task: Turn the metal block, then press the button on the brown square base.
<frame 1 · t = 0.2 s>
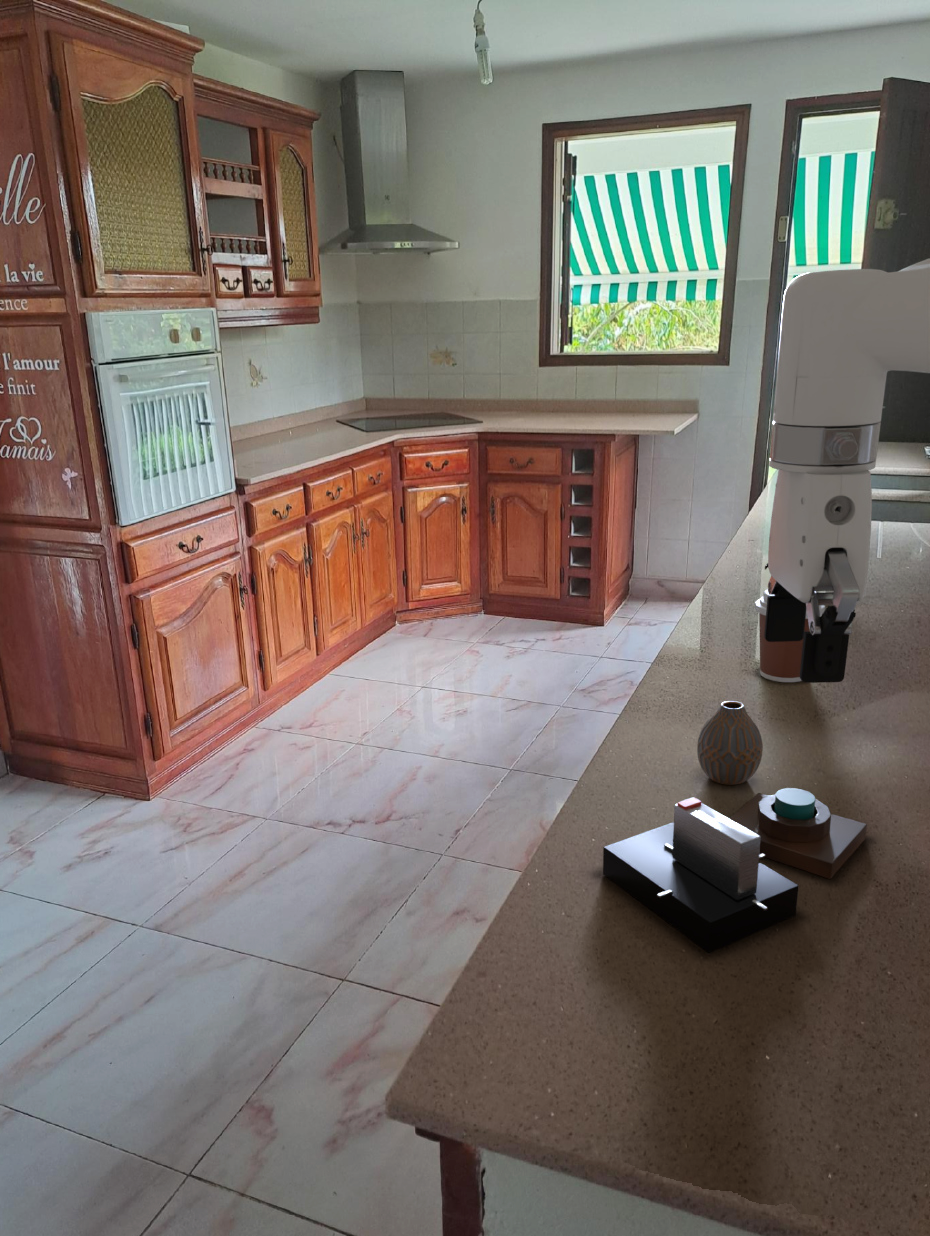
hand: (801, 659, 78), 22 cm above the counter, tool pointing down, fingers open, 9 cm apart
vase: (727, 778, 107), on the counter
button: (794, 804, 93), point 4 cm above the counter, slide at 0.1 cm
brown square base: (791, 840, 94), on the counter
faucet base: (695, 893, 87), on the counter
coffee cup: (783, 675, 136), on the counter
dragon fruit: (797, 587, 176), on the counter
metal block: (714, 846, 83), point 6 cm above the counter, hinge at 0.0°
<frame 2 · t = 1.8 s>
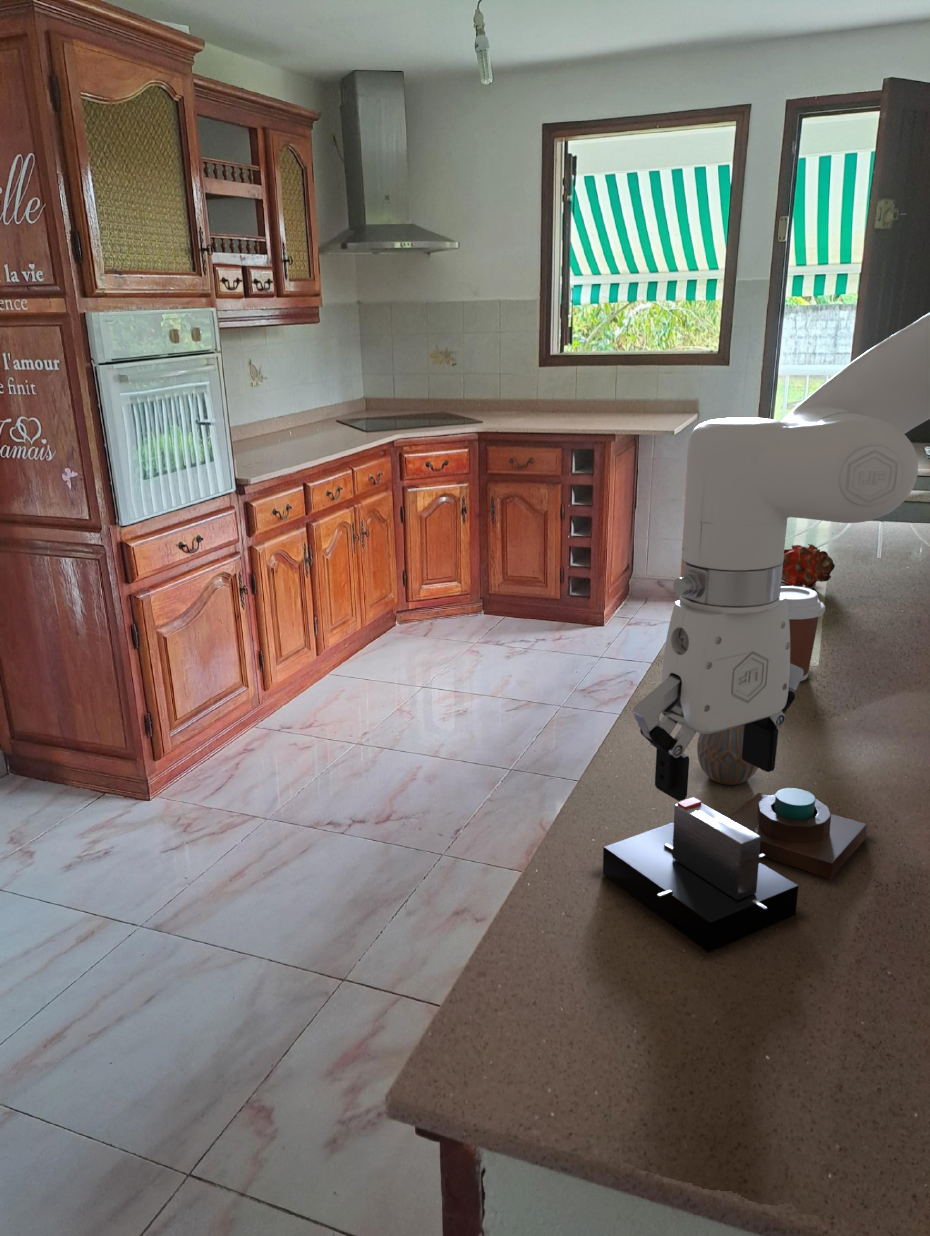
hand: (715, 779, 81), 12 cm above the counter, tool pointing down, fingers open, 9 cm apart
nothing on the counter moved.
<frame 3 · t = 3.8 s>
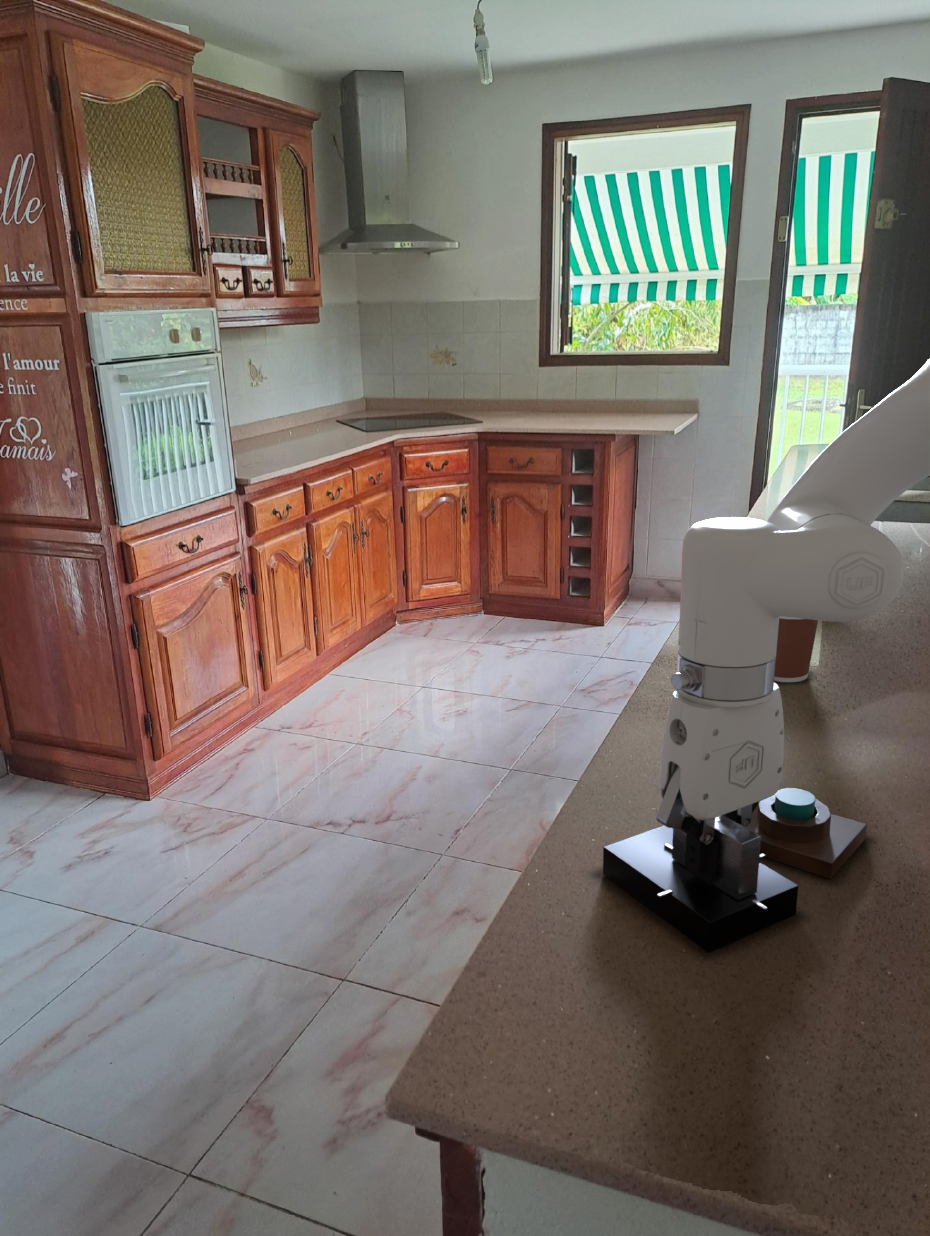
hand: (713, 869, 84), 4 cm above the counter, tool pointing down, fingers closed on metal block, 2 cm apart
metal block: (714, 846, 83), point 6 cm above the counter, hinge at 1.0°, touching gripper
everything else where it was.
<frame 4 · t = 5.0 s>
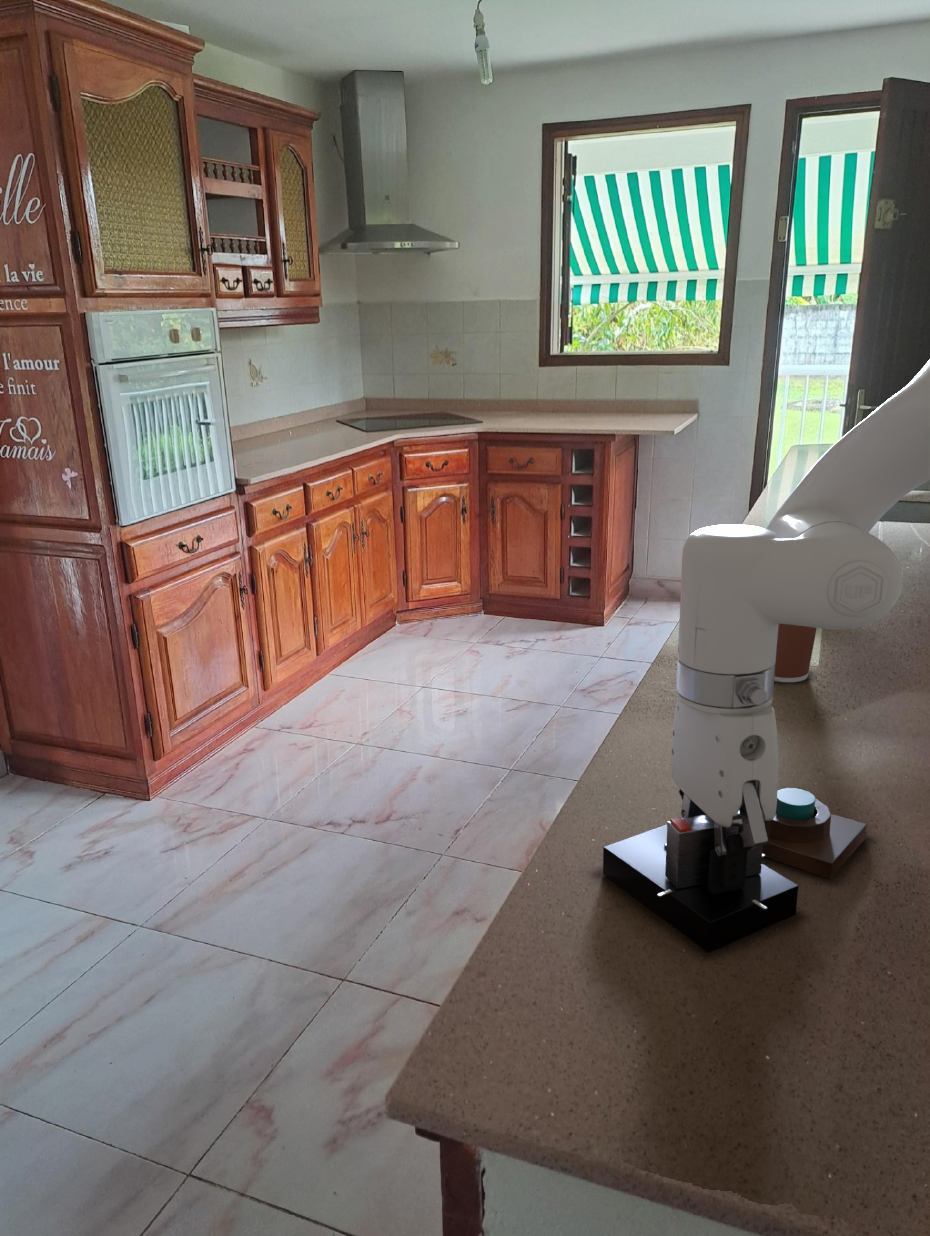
hand: (712, 873, 84), 3 cm above the counter, tool pointing down, fingers open, 4 cm apart
metal block: (714, 846, 83), point 6 cm above the counter, hinge at 75.0°
everything else where it was.
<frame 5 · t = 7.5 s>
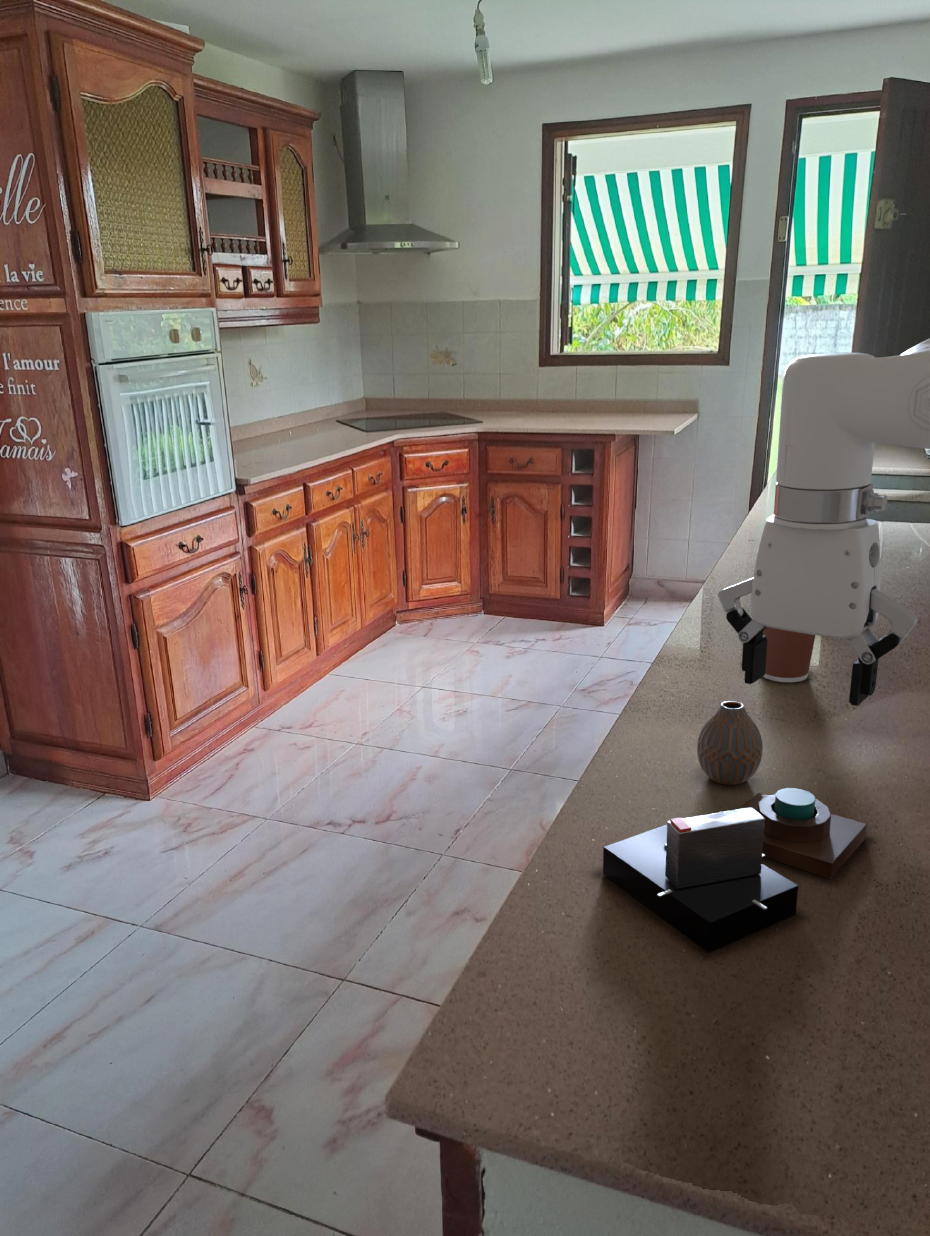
hand: (805, 689, 88), 16 cm above the counter, tool pointing down, fingers open, 9 cm apart
nothing on the counter moved.
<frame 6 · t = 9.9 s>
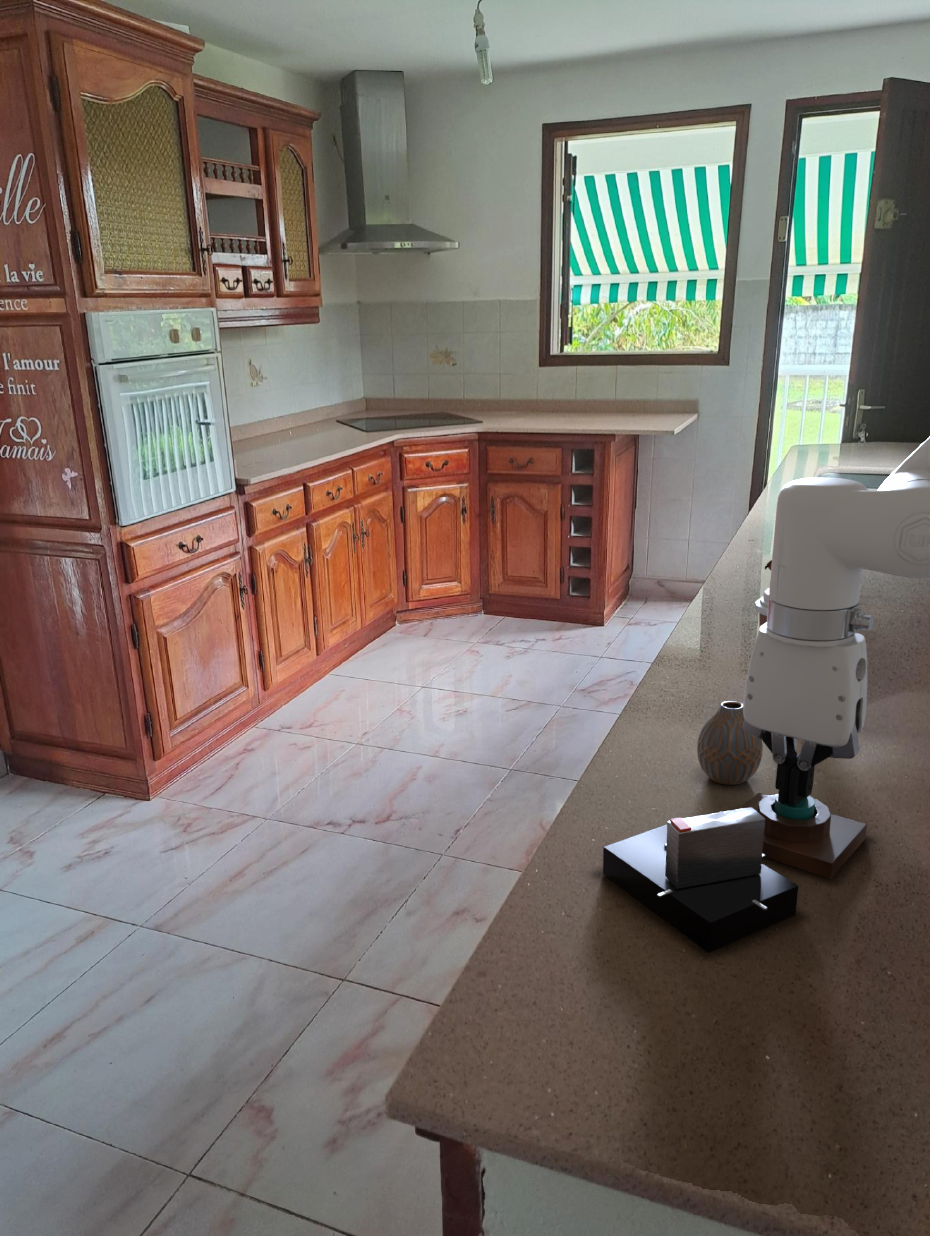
hand: (792, 799, 93), 5 cm above the counter, tool pointing down, fingers closed
button: (794, 807, 93), point 4 cm above the counter, slide at -0.2 cm, touching gripper
everything else where it was.
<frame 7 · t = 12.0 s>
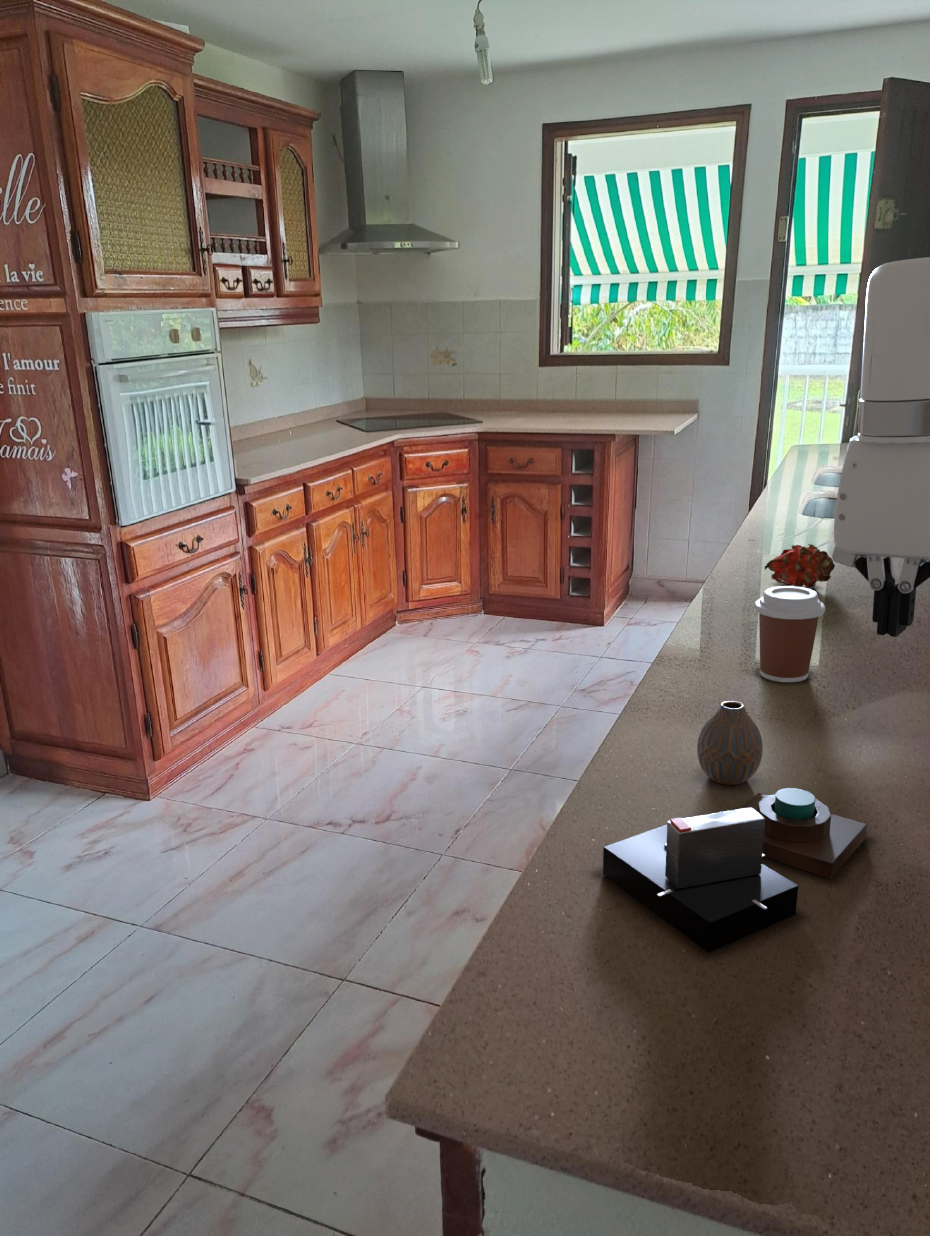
hand: (891, 631, 85), 22 cm above the counter, tool pointing down, fingers closed
button: (794, 804, 93), point 4 cm above the counter, slide at 0.1 cm
everything else where it was.
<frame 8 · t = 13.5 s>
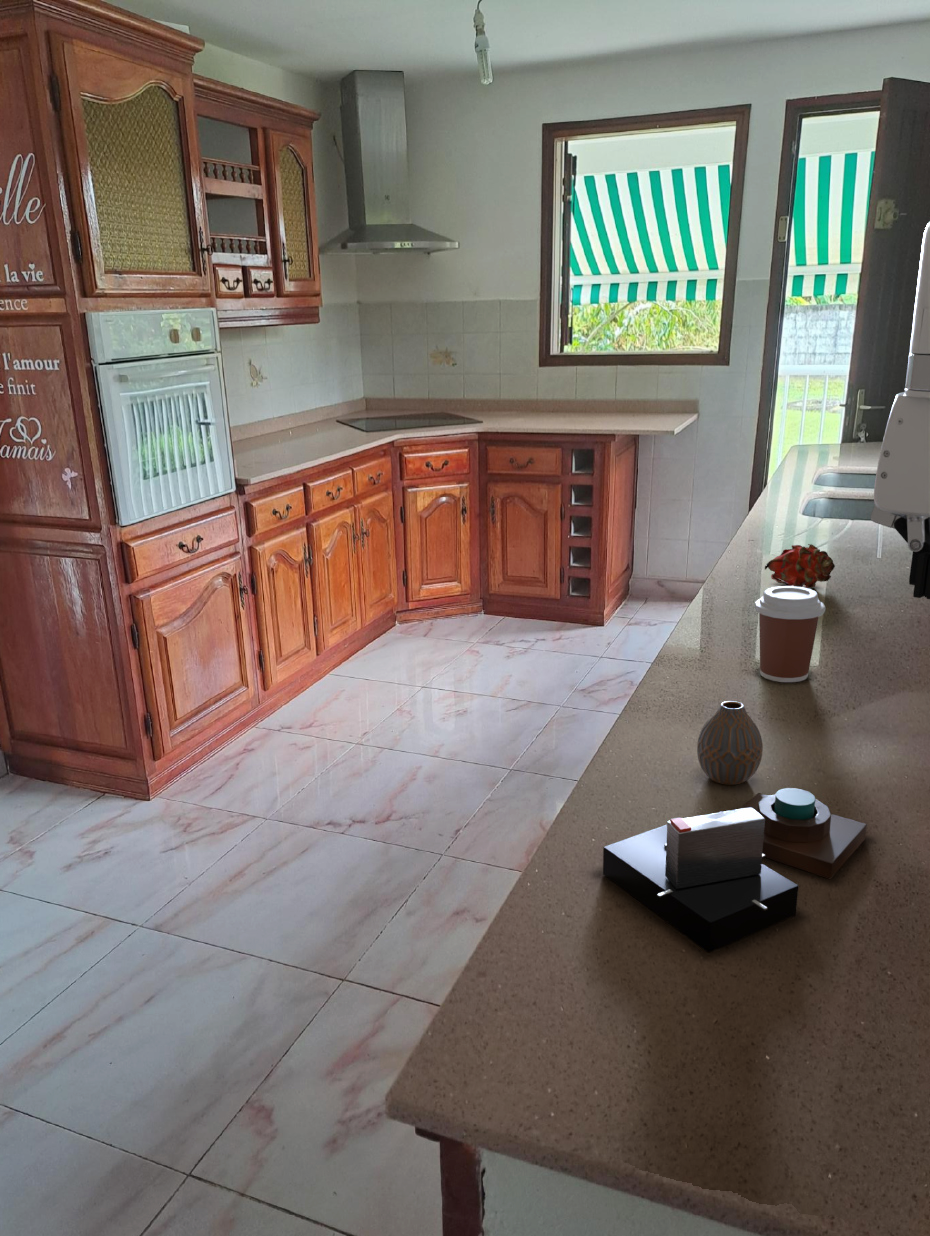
hand: (928, 594, 84), 25 cm above the counter, tool pointing down, fingers closed
nothing on the counter moved.
at the end: metal block at +75° (first picture: +0°); button pushed in 1.1 cm at the most during the clip, back to where it started at the end; button slide at 0.1 cm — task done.
